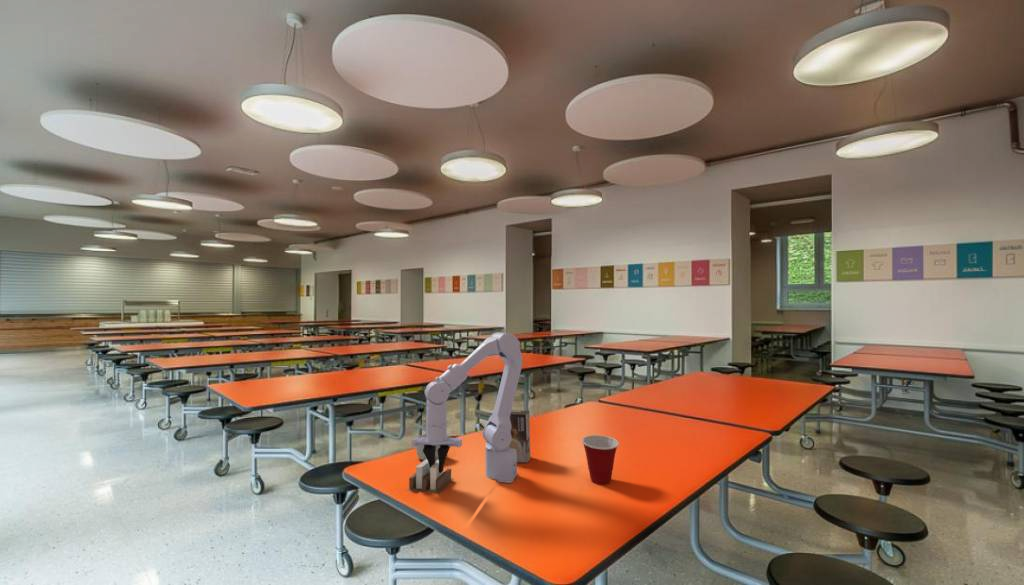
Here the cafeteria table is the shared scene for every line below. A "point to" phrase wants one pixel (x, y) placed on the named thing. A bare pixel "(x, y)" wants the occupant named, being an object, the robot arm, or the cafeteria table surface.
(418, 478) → the racked plate
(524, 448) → the coffee box
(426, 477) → the rack
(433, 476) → the white upright slab
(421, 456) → the teacup
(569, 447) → the cafeteria table surface
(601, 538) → the cafeteria table surface
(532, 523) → the cafeteria table surface
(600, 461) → the plastic cup
